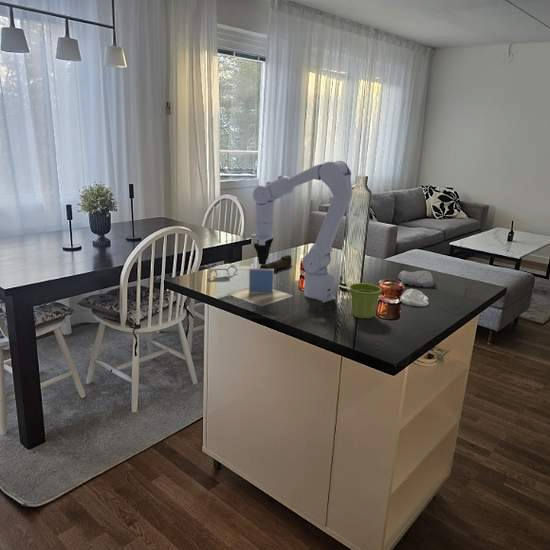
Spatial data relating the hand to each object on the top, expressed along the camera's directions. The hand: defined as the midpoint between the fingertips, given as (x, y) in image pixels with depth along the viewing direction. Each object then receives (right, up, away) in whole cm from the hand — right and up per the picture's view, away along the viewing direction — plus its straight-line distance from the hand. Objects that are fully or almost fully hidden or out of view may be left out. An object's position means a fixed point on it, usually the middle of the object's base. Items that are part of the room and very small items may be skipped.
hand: (263, 261), depth 164 cm
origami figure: (-14, -6, +11) cm, 19 cm away
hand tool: (+5, -3, +26) cm, 27 cm away
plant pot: (+30, -17, -20) cm, 40 cm away
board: (-1, -12, -8) cm, 14 cm away
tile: (-1, -10, -6) cm, 12 cm away
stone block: (+56, -8, +14) cm, 58 cm away
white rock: (+49, -14, -7) cm, 52 cm away
